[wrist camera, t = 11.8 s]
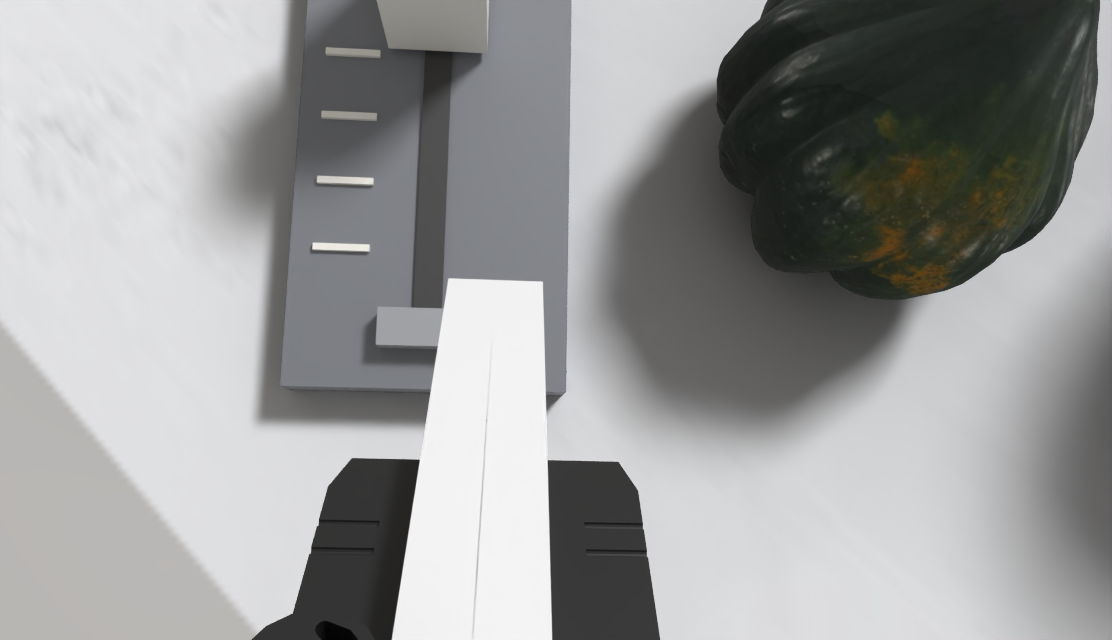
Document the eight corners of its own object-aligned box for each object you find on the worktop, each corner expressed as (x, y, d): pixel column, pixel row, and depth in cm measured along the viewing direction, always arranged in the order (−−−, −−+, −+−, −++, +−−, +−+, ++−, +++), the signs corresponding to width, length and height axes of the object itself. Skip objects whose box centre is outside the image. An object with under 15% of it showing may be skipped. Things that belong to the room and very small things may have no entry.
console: (561, 395, 37) (568, 390, 34) (291, 389, 37) (273, 383, 34) (568, -48, 41) (574, -88, 38) (322, -64, 40) (309, -105, 37)
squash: (617, 209, 33) (1029, 180, 23) (705, -97, 37) (1102, -248, 26) (783, 330, 43) (1130, 349, 32) (842, 78, 46) (1174, 20, 35)
